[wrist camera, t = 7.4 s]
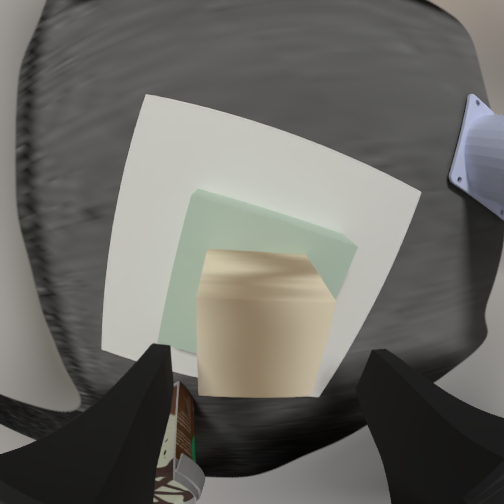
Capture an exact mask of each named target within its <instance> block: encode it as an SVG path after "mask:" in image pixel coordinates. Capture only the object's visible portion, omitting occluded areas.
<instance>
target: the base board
mask: <svg viewBox="0 0 504 504" xmlns="http://www.w3.org/2000/svg"><path fill="white" fill-rule="evenodd" d="M420 194H421V192H420V191H418V190H417V189H415V188H413V187H411V186H409V185H407V184H405V183H403V182H401V181H399V180H397V179H395V178H393V177H391V176H389V175H387V174H385V173H383V172H381V171H379V170H377V169H375V168H373V167H371V166H368V165H366V164H364V163H362V162H360V161H357V160H355V159H353V158H351V157H348V156H346V155H344V154H341V153H339V152H337V151H334V150H332V149H329V148H327V147H324V146H322V145H319V144H317V143H314V142H312V141H309V140H307V139H304V138H301V137H299V136H296V135H293V134H290V133H288V132H285V131H282V130H279V129H276V128H273V127H270V126H267V125H264V124H261V123H258V122H255V121H252V120H248V119H245V118H242V117H239V116H235V115H232V114H228V113H225V112H221V111H217V110H214V109H210V108H206V107H202V106H198V105H194V104H190V103H186V102H182V101H177V100H173V99H168V98H163V97H158V96H153V95H148V94H146V96H145V99H144V102H143V105H142V108H141V111H140V114H139V118H138V121H137V124H136V128H135V131H134V134H133V138H132V142H131V145H130V149H129V153H128V157H127V161H126V165H125V169H124V173H123V178H122V182H121V187H120V192H119V196H118V201H117V207H116V212H115V217H114V223H113V229H112V235H111V242H110V249H109V256H108V264H107V273H106V283H105V294H104V306H103V323H102V350H105V351H108V352H111V353H114V354H117V355H119V356H123V357H126V358H129V359H132V360H135V361H137V360H138V359H139V358H140V357H141V356H142V355H143V353H144V352H145V351H146V350H147V349H148V347H149V346H150V345H151V344H153V343H155V344H164V345H170V346H171V360H172V371H173V372H177V373H181V374H185V375H189V376H193V377H197V378H198V370H197V334H196V295H197V291H198V286H199V282H200V278H201V273H202V269H203V265H204V261H205V257H206V252H207V249H221V250H238V251H256V252H273V253H290V254H306V255H307V257H308V258H309V260H310V262H311V263H312V265H313V266H314V268H315V269H316V271H317V272H318V274H319V275H320V277H321V278H322V280H323V282H324V283H325V285H326V286H327V288H328V289H329V291H330V293H331V294H332V296H333V297H334V299H335V300H336V306H335V310H334V314H333V319H332V323H331V327H330V330H329V334H328V338H327V342H326V346H325V349H324V353H323V356H322V360H321V363H320V367H319V370H318V374H317V377H316V380H315V384H314V387H313V390H312V393H311V397H319V396H320V395H321V393H322V392H323V390H324V388H325V387H326V385H327V384H328V382H329V381H330V379H331V378H332V376H333V374H334V373H335V371H336V370H337V368H338V366H339V365H340V363H341V361H342V360H343V358H344V356H345V355H346V353H347V351H348V350H349V348H350V346H351V344H352V343H353V341H354V339H355V337H356V336H357V334H358V332H359V330H360V328H361V327H362V325H363V323H364V321H365V319H366V317H367V315H368V314H369V312H370V310H371V308H372V306H373V304H374V302H375V300H376V298H377V296H378V294H379V292H380V290H381V288H382V286H383V284H384V282H385V279H386V277H387V275H388V273H389V271H390V269H391V267H392V264H393V262H394V260H395V258H396V255H397V253H398V251H399V248H400V246H401V244H402V241H403V239H404V236H405V234H406V232H407V229H408V227H409V224H410V221H411V219H412V216H413V214H414V211H415V208H416V206H417V203H418V200H419V197H420Z"/></svg>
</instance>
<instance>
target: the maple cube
mask: <svg viewBox="0 0 504 504" xmlns="http://www.w3.org/2000/svg"><path fill="white" fill-rule="evenodd" d="M335 306H336V300H335V299H334V297H333V296H332V294H331V293H330V291H329V289H328V288H327V286H326V285H325V283H324V282H323V280H322V278H321V277H320V275H319V274H318V272H317V271H316V269H315V268H314V266H313V265H312V263H311V262H310V260H309V258H308V257H307V255H306V254H290V253H273V252H256V251H238V250H221V249H207V252H206V257H205V261H204V265H203V269H202V273H201V278H200V282H199V286H198V291H197V295H196V334H197V370H198V394H199V395H201V396H218V397H252V398H267V397H301V396H311V393H312V390H313V387H314V384H315V380H316V377H317V374H318V370H319V367H320V363H321V360H322V356H323V353H324V349H325V346H326V342H327V338H328V334H329V330H330V327H331V323H332V319H333V314H334V310H335Z"/></svg>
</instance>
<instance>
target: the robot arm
mask: <svg viewBox="0 0 504 504" xmlns="http://www.w3.org/2000/svg"><path fill="white" fill-rule="evenodd" d="M476 103H477V104H476ZM458 178H459V181H457V180H458ZM449 180H450V182H451V183H452V184H454V185H455V186H457V187H458V188H460V189H461V190H463V191H464V192H466V193H467V194H469V195H470V196H471V197H473V198H474V199H476V200H477V201H478V202H480V203H481V204H482V205H484V206H485V207H486V208H488V209H489V210H490V211H492V212H493V213H494V214H496V215H497V216H498V217H499V218H501V219H502V220H504V115H495V114H494V113H493V112H492V111H491V110H490V109H489V108H488V107H487V106H486V105H485V104H484V103H483V102H482V101H481V100H480V99H479V98H477V97H476V96H475V95H474V94H469V95H468V98H467V104H466V109H465V114H464V118H463V123H462V127H461V132H460V136H459V140H458V144H457V148H456V152H455V155H454V159H453V162H452V166H451V169H450V173H449ZM173 390H174V383H173V372H172V360H171V346H170V345H164V344H155V343H153V344H151V345H150V346H149V347H148V349H147V350H146V351H145V352H144V353H143V355H142V356H141V357H140V358H139V359H138V360H137V362H136V363H135V364H134V365H133V366H132V367H131V368H130V369H129V370H128V372H127V373H126V374H125V375H124V376H123V377H122V378H121V379H120V380H119V381H118V382H117V383H116V384H115V385H114V386H113V387H112V388H111V389H110V390H109V391H108V392H107V393H105V394H104V395H103V396H102V397H101V398H100V399H99V400H98V401H97V402H95V403H94V404H93V405H92V406H91V407H89V408H88V409H87V410H85V411H84V412H83V413H81V414H80V415H79V416H77V417H76V418H74V419H73V420H71V421H70V422H68V423H67V424H65V425H64V426H62V427H61V428H59V429H57V430H56V431H54V432H52V433H50V434H48V435H46V436H44V437H42V438H40V439H38V440H36V441H35V442H33V443H30V444H28V445H26V446H23V447H21V448H18V449H15V450H12V451H9V452H6V453H3V454H0V504H153V499H154V488H155V478H156V470H157V465H158V460H159V456H160V452H161V448H162V444H163V440H164V436H165V432H166V428H167V424H168V420H169V416H170V412H171V405H172V397H173ZM356 390H357V394H358V398H359V402H360V406H361V410H362V412H363V415H364V417H365V420H366V422H367V425H368V427H369V429H370V431H371V434H372V436H373V438H374V441H375V443H376V446H377V448H378V451H379V453H380V456H381V459H382V462H383V465H384V469H385V473H386V477H387V481H388V486H389V492H390V497H391V503H392V504H504V418H502V417H498V416H495V415H493V414H490V413H487V412H485V411H482V410H480V409H477V408H475V407H473V406H471V405H469V404H467V403H465V402H463V401H461V400H459V399H458V398H456V397H454V396H452V395H451V394H449V393H447V392H446V391H444V390H443V389H441V388H440V387H438V386H437V385H435V384H434V383H432V382H431V381H430V380H428V379H427V378H425V377H424V376H423V375H421V374H420V373H419V372H417V371H416V370H414V369H413V368H412V367H410V366H409V365H408V364H406V363H405V362H404V361H402V360H401V359H400V358H398V357H397V356H395V355H394V354H393V353H391V352H390V351H388V350H386V349H378V350H372V351H371V354H370V356H369V359H368V361H367V364H366V366H365V369H364V371H363V374H362V376H361V378H360V381H359V383H358V385H357V387H356Z"/></svg>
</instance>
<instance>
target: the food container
mask: <svg viewBox="0 0 504 504" xmlns="http://www.w3.org/2000/svg"><path fill="white" fill-rule="evenodd" d="M204 483H205V475H204V473H203V471H202V470H201V468H200V467H199V466H198V465H197V464H196V462H195V429H194V401H193V398H192V396H191V394H190V392H189V391H188V389H187V388H186V387H185V386H184V385H183V384H182V383H181V382H180V381H178V382H176V383H174V390H173V397H172V405H171V412H170V416H169V420H168V424H167V428H166V432H165V436H164V440H163V444H162V448H161V452H160V456H159V460H158V465H157V470H156V478H155V488H154V499H153V504H196V501H197V500H198V499H199V498H200V495H201V493H202V489H203V486H204Z"/></svg>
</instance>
